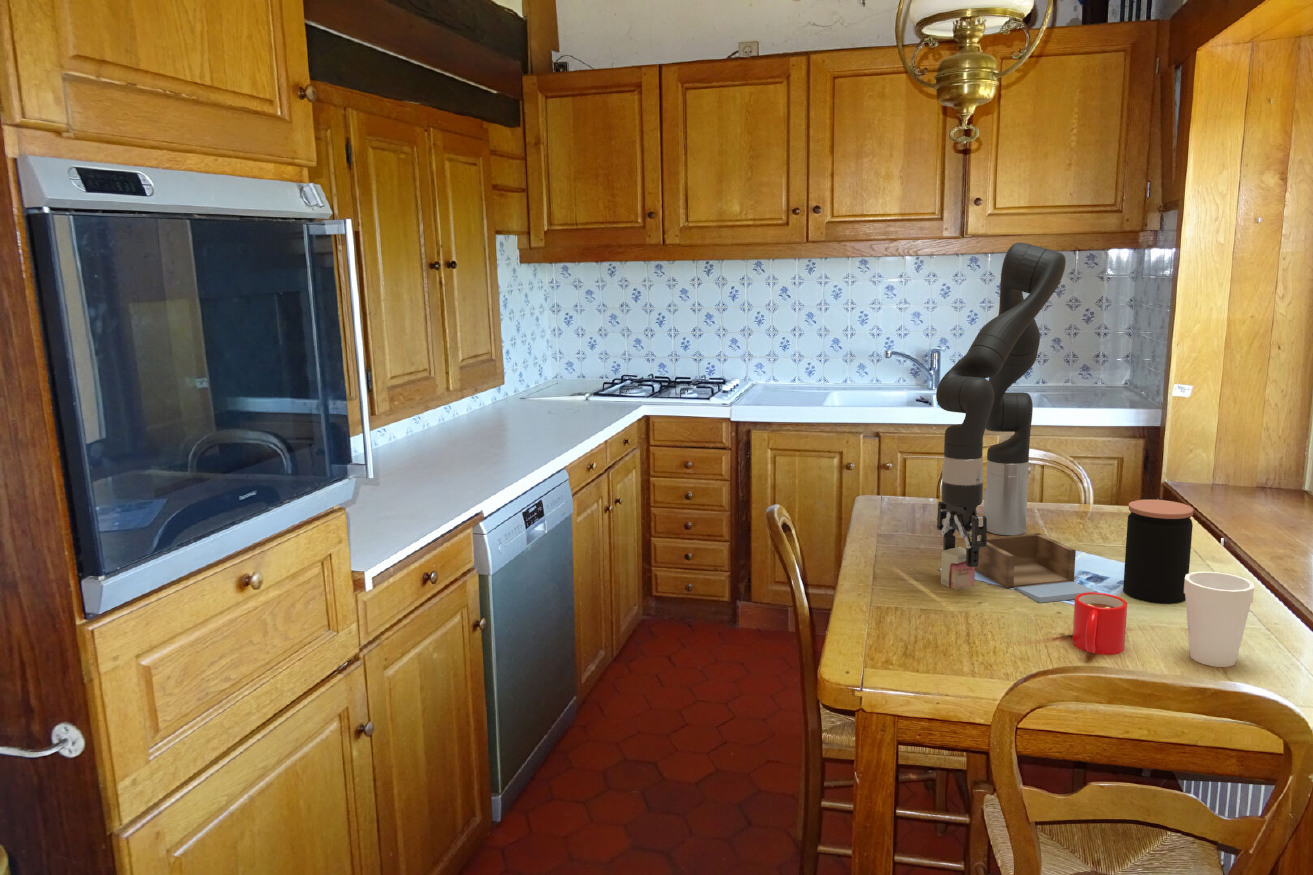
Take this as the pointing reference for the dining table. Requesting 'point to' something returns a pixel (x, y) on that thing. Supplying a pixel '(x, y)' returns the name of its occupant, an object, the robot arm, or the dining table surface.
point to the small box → (956, 569)
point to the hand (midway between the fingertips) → (960, 559)
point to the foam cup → (1216, 615)
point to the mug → (1099, 623)
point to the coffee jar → (1157, 551)
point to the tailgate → (1053, 591)
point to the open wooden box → (1026, 560)
